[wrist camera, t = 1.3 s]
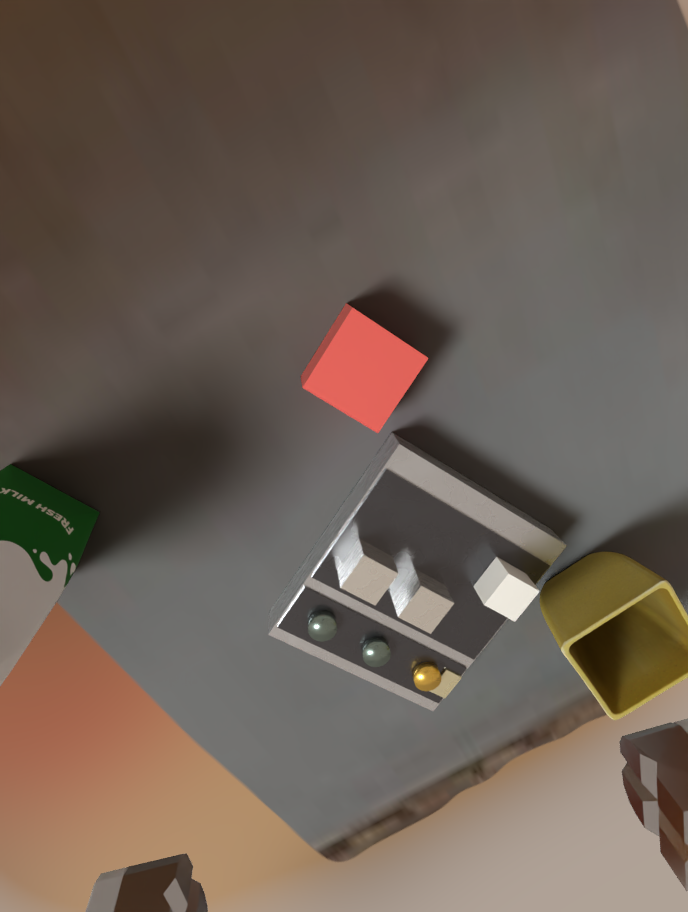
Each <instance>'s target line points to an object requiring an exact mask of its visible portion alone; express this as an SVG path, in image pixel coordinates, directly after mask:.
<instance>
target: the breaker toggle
mask: <svg viewBox="0 0 688 912" xmlns="http://www.w3.org/2000/svg"><path fill="white" fill-rule="evenodd" d="M473 587H474V589H475V590H476V592H477V594H478V596H479V597H480V599H481V601H482V602H483V604H484V605H485V606H487V607H489V608H491V609H492V610H494V611H496V612H498V613H500V614H502V615H503V616H505V617H507V618H509V619H511V620H513V621H516V620H517V619H518V617H519V616H520V615H521V614H522V612H523V611H524V610H525V609H526V608H527V606H528V605H529V604H530V603H531V601H532V600H533V599H534V598H535V596H536V595H537V594H538V593H539V592H540V591H539V590H538V588H537V587H536V586H535V585H534V583H533V582H532V581H531V579H530V578H529V577H528V575H527V574H526V573H524V572H522V571H521V570H519V569H517V568H515V567H514V566H512V565H510V564H509V563H507V562H505V561H503V560H502V559H500V558H498V557H496V558H495V559H494V560H493V562H492V563H491V564H490V566H489V567H488V568H487V569H486V571H485V572H484V573H483V575H482V576H481V577H480V578H479V580H478V581H477V582H476V584H475V585H474V586H473Z"/></svg>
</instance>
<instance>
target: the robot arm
mask: <svg viewBox="0 0 688 912" xmlns="http://www.w3.org/2000/svg"><path fill="white" fill-rule="evenodd" d="M620 752H621V754H622V755H623V757H624V758H625V760H626V761H627V764H626V765H625V767H624V768H623V770H622V776H623V784H624V788H625V791H626V793H627V796H628V799H629V802H630V804H631V806H632V808H633V810H634V812H635V814H636V815H637V817H638V818H639V820H640V821H641V823H642V825H643V826H644V828H646V829H648V830H649V831H651V832H653V833H654V834H656V835H658V836H659V837H660V851H661V854H662V855H663V857H664V858H665V860H666V861H667V863H668V864H669V866H670V867H671V869H672V870H673V872H674V873H675V875H676V876H677V878H678V879H679V880H680V882H681V884H682V885H683V886H684V888H685V890H686V891H688V719H685V720H681V721H677V722H674V723H667V724H664V725H660V726H657V727H653V728H650V729H646V730H643V731H639V732H635V733H632V734H628V735H625V736H622V737H621V740H620ZM192 869H193V865H192V863H191V861H190V859H189V857H188V855H187V854H181V855H176V856H172V857H168V858H164V859H160V860H156V861H151V862H147V863H142V864H138V865H134V866H129V867H126V868H122V869H118V870H114V871H110V872H106V873H102V874H101V875H100V876H99V878H98V879H97V881H96V883H95V884H94V886H93V889H92V893H91V896H90V899H89V903H88V906H87V909H86V912H208V908H207V903H206V898H205V894H204V891H203V888H202V886H201V884H200V883H199V882H197V881H195V880H193V879H191V877H192Z"/></svg>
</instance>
